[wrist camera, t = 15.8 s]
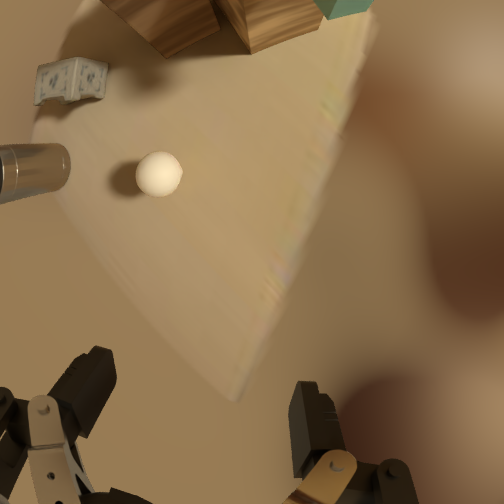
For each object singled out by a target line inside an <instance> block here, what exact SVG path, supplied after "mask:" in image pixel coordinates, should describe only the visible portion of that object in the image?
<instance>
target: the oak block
mask: <svg viewBox="0 0 504 504" xmlns="http://www.w3.org/2000/svg"><path fill="white" fill-rule="evenodd" d="M214 1H215V3H216V4H217V5H218V7H219V8H220V9H221V11H222V12H223V13H224V15H225V16H226V18H227V19H228V20H229V22H230V23H231V25H232V26H233V28H234V29H235V31H236V32H237V33H238V35H239V36H240V38H241V39H242V41H243V42H244V44H245V45H246V47H247V49H248V50H249V52H250V53H251V55H252V54H254V53H256V52H258V51H261V50H263V49H266V48H268V47H271V46H273V45H276V44H278V43H281V42H283V41H286V40H289V39H291V38H294V37H297V36H300V35H303V34H306V33H309V32H312V31H315V30H318V28H319V26H320V23H321V21H322V18H323V16H324V14H323V13H322V12H321V10H320V9H319V8H318V7H317V5H316V4H315V3H314V1H313V0H214Z"/></svg>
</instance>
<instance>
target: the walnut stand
mask: <svg viewBox="0 0 504 504" xmlns="http://www.w3.org/2000/svg"><path fill="white" fill-rule="evenodd" d="M100 1H102V2H103V3H104V4H105V5H106V6H108V7H109V8H110V9H111V10H113V11H114V12H115V13H116V14H117V15H118V16H120V17H121V18H122V19H123V20H124V21H125V22H127V23H128V24H129V25H130V26H131V27H132V28H133V29H135V30H136V31H137V32H138V33H139V34H140V35H141V36H142V37H143V38H145V39H146V40H147V41H148V42H149V43H150V44H151V45H152V46H153V47H154V48H155V49H156V50H158V51H159V52H160V53H161V54H162V55H163V56H164V57H165V58H166V59H167V58H169V57H170V56H172V55H174V54H175V53H177V52H179V51H181V50H182V49H184V48H186V47H188V46H190V45H191V44H193V43H195V42H197V41H199V40H201V39H203V38H205V37H207V36H209V35H211V34H213V33H215V32H217V31H219V30H221V29H220V27H219V24H218V21H217V19H216V16H215V13H214V11H213V8H212V5H211V3H210V0H100Z"/></svg>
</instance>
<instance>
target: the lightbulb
mask: <svg viewBox="0 0 504 504" xmlns="http://www.w3.org/2000/svg"><path fill="white" fill-rule="evenodd" d="M181 176H182V168H181V167H180V164H179V162H178V161H177V160H176V158H175V157H174V156H172V155H171V154H169V153H167V152H162V151H157V152H152V153H150V154H148V155H146V156H145V157H144V158H143V159H142V160H141V161H140V163H139V164H138V166H137V169H136V182H137V185H138V187H139V188H140V189H141V191H143V192H144V193H145V194H147V195H148V196H151V197H157V198H158V197H164V196H167V195H169V194H171V193H172V192H173V191H174V190H175V189H176V188H177V186H178V184H179V182H180V179H181Z"/></svg>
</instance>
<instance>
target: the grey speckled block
mask: <svg viewBox="0 0 504 504" xmlns="http://www.w3.org/2000/svg"><path fill="white" fill-rule="evenodd" d="M107 72H108V63H107V62H101V61H97V60H92V59H88V58H83V57H73V58H68V59H64V60H60V61H56V62H51V63H47V64H43V65H40V66H38V69H37V77H36V83H35V93H34V105H35V106H41V105H43V104H44V103H45V102H46V100H59V102H60V104H61V105H66V104H69V103H72V102H73V101H79V99H84V98H89V97H93V98H98V99H101V98H104V94H105V84H106V78H107Z"/></svg>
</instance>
